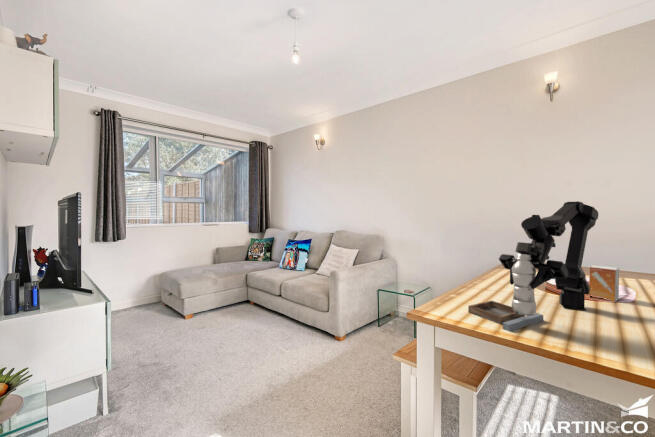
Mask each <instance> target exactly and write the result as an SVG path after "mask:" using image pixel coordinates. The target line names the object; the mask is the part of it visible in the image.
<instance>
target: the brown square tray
mask: <svg viewBox="0 0 655 437" xmlns="http://www.w3.org/2000/svg"><path fill="white" fill-rule="evenodd" d="M467 307H468V313H470V314H473V315H474V316H477V317H481V318H482V319H485V320H489V321H491V322H493V323H496V324H499V325H503V322H507V321H510V320H514V319H518V318H521V317H525V316H526V315H520V314H517V313H515V312H514V311H513V309H512V305H511V306H510V305H507V304H504V303H500V302H497V301H494V300H488V301H484V302H480V303H473V304H470V305H468V306H467Z"/></svg>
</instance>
